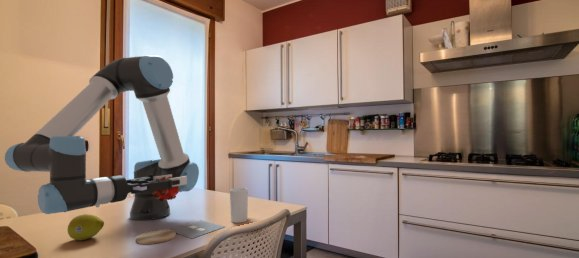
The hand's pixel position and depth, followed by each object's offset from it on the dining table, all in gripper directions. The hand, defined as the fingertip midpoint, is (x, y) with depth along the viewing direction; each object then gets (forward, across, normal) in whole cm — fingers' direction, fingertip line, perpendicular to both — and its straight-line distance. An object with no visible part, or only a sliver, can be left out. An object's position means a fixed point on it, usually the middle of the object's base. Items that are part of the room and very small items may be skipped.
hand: (178, 179), depth 105 cm
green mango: (-21, -20, -18) cm, 34 cm away
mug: (+22, +8, -18) cm, 30 cm away
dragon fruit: (-5, 0, -6) cm, 8 cm away
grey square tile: (+5, +3, -18) cm, 19 cm away
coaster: (-8, -1, -18) cm, 20 cm away
